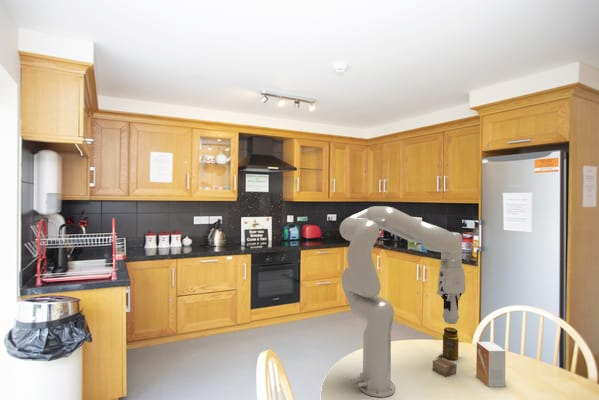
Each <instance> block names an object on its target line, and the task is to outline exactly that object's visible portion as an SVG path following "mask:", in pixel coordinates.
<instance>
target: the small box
mask: <svg viewBox="0 0 599 400" xmlns="http://www.w3.org/2000/svg"><path fill="white" fill-rule="evenodd" d="M475 369H476V370H475V371H476V372H475V373H476V374H475V375H476V377H477V378H479V379H480V381H481V382H482V383H484V384H485V385H486V386H487V387H488V388H505V387H506V350H505V349H503V348H502V347H501V346H499V345H498V344H496V343H495V342H494V341H476V368H475Z"/></svg>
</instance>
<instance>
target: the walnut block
mask: <svg viewBox="0 0 599 400" xmlns="http://www.w3.org/2000/svg"><path fill="white" fill-rule="evenodd" d="M432 371H433V372H434V373H437V374H438V375H440V376H441V377H443V378H448V377H451V376H452V377H453V376H455V375H457V364H456V363H453V362H451V361H449V360H447V359H445V358H441V359H438V358H437V359H434V360H432Z"/></svg>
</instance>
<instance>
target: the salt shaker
mask: <svg viewBox="0 0 599 400" xmlns="http://www.w3.org/2000/svg"><path fill="white" fill-rule="evenodd" d="M456 295H457V293H455V294H450V300H449V301H451V310H450V311H449V310H448V309H444V308H443V312H442V318H443V320H444V323H446V324H449V325H456V324H457V323H458V320H459V319H460V318H459V317H460V316H459V309H458V310H457V304H456V299H455V296H456ZM446 296H447V294H446Z"/></svg>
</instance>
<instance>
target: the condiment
mask: <svg viewBox="0 0 599 400" xmlns="http://www.w3.org/2000/svg"><path fill="white" fill-rule="evenodd" d="M458 335H459V334H458V329H457V328H454V327H450V326H449V327H444V328H443V334H442V353H441V354H440V355H438V356H437V357H436V358H437V359H441V358H445V359H447V360H449V361H451V362H453V363H455V364H456V363H457V362H460V360H461V359H462V358H463V357H462V356H460V355H459V336H458Z"/></svg>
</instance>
